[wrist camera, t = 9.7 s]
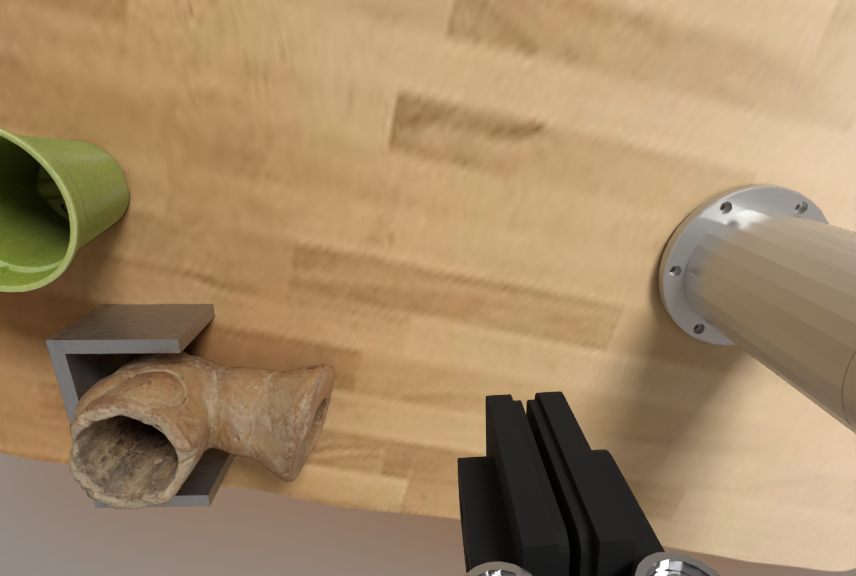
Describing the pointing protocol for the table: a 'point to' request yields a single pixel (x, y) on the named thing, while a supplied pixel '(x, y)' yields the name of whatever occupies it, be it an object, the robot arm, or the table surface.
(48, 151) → the plant pot
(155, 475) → the pipe
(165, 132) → the table surface
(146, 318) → the gray channel bracket
